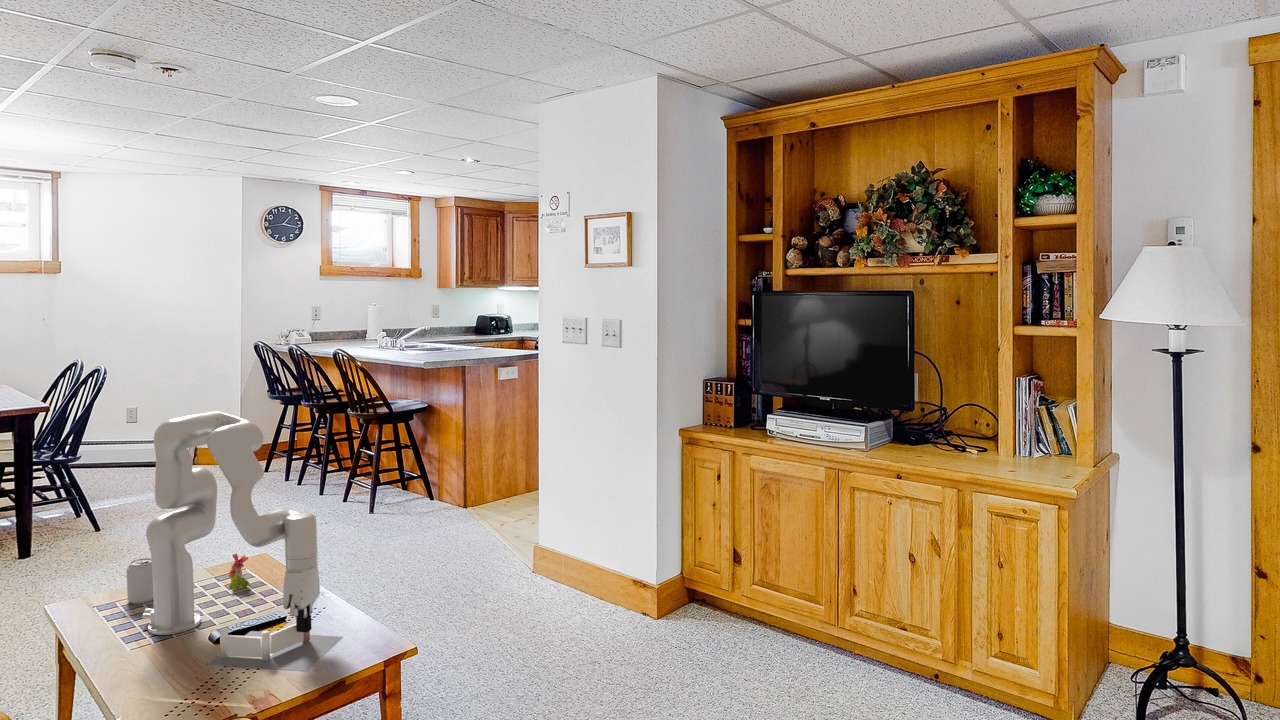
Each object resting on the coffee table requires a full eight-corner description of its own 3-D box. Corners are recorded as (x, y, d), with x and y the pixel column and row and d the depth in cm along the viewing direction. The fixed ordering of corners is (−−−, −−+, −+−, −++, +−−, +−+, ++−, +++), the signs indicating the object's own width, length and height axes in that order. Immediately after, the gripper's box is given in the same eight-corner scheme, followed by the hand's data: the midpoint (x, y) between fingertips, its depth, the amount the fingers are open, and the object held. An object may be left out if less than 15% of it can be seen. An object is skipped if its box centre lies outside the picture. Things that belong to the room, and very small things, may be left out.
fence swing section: (273, 656, 196) (272, 633, 195) (268, 654, 197) (267, 631, 196) (311, 639, 205) (311, 617, 205) (306, 637, 206) (306, 616, 206)
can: (147, 605, 227) (145, 565, 226) (121, 604, 228) (120, 564, 226) (163, 595, 235) (161, 556, 234) (138, 594, 235) (137, 556, 234)
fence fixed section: (218, 657, 195) (218, 630, 195) (223, 654, 197) (222, 627, 197) (267, 661, 194) (266, 634, 194) (271, 657, 196) (270, 630, 195)
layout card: (205, 666, 192) (205, 664, 192) (251, 633, 211) (250, 630, 211) (306, 673, 190) (306, 670, 190) (343, 639, 208) (343, 636, 208)
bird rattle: (223, 594, 242) (231, 590, 236) (217, 558, 244) (226, 554, 238) (244, 589, 246) (253, 585, 240) (239, 554, 248) (248, 549, 242)
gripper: (303, 551, 208) (306, 618, 210) (271, 571, 193) (273, 642, 195) (330, 552, 207) (332, 619, 209) (299, 572, 192) (302, 644, 194)
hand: (304, 630), depth 202 cm, fingers closed
